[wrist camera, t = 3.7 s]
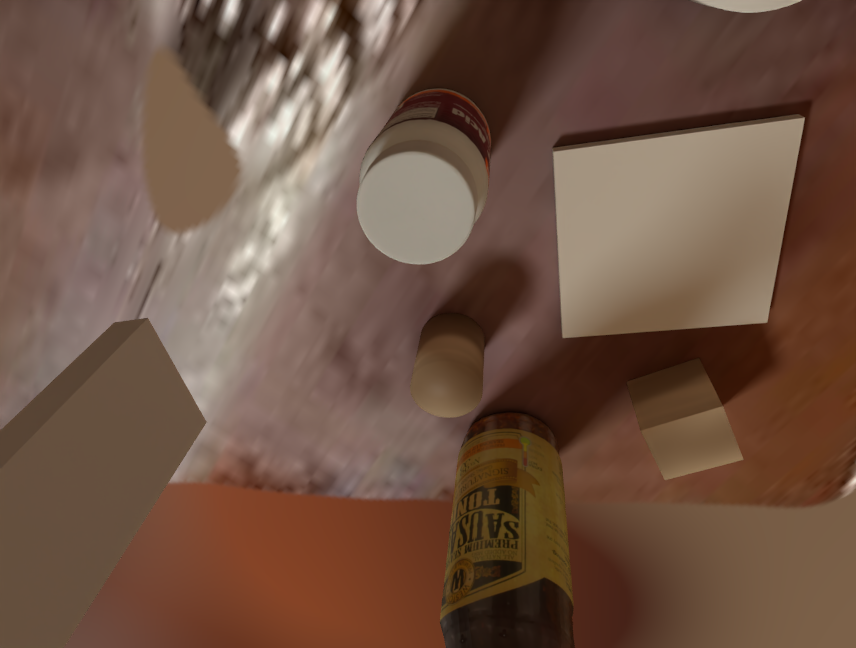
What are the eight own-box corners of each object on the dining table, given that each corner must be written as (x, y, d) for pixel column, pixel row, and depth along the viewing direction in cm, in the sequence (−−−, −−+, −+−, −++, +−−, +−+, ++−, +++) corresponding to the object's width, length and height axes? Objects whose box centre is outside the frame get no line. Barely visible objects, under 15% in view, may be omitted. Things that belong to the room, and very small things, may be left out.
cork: (415, 315, 31) (403, 364, 27) (480, 310, 30) (477, 358, 27) (426, 367, 33) (417, 419, 29) (487, 363, 32) (486, 415, 28)
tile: (552, 147, 25) (553, 151, 24) (798, 114, 23) (804, 117, 23) (561, 331, 30) (562, 338, 30) (762, 316, 28) (767, 322, 28)
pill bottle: (506, 169, 26) (508, 250, 19) (413, 205, 27) (383, 292, 20) (468, 66, 24) (454, 114, 17) (369, 111, 25) (318, 172, 18)
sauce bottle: (507, 389, 33) (514, 825, 16) (580, 443, 35) (652, 886, 18) (436, 444, 36) (382, 856, 20) (506, 492, 38) (510, 906, 21)
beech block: (626, 380, 32) (640, 430, 28) (698, 356, 30) (722, 406, 27) (648, 428, 34) (665, 480, 30) (718, 407, 32) (743, 459, 29)
